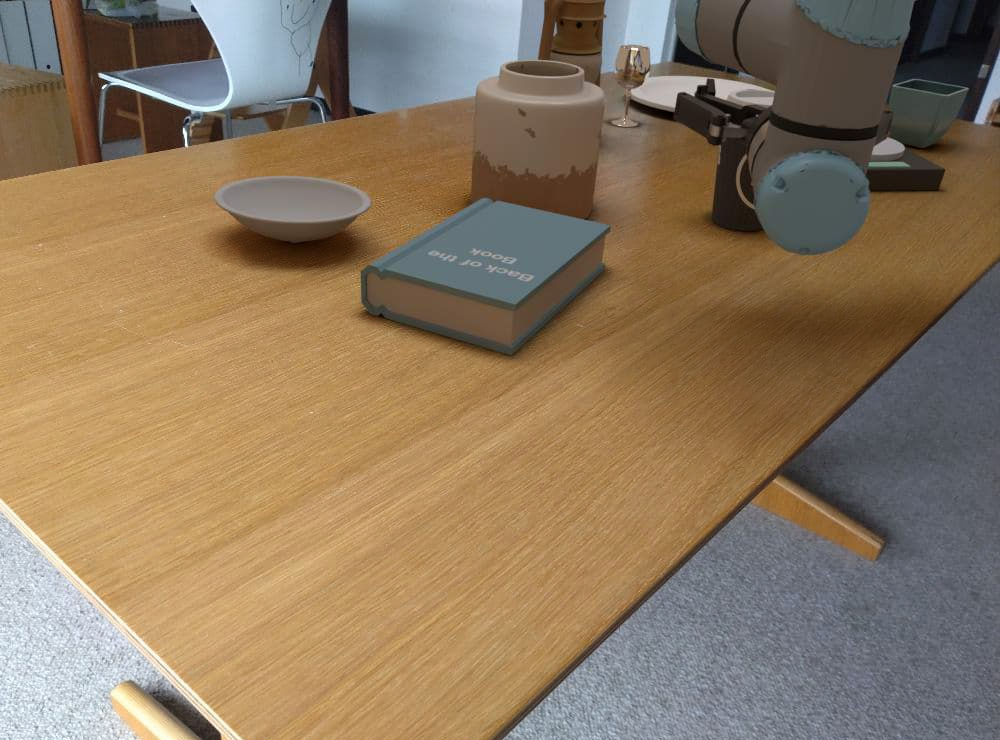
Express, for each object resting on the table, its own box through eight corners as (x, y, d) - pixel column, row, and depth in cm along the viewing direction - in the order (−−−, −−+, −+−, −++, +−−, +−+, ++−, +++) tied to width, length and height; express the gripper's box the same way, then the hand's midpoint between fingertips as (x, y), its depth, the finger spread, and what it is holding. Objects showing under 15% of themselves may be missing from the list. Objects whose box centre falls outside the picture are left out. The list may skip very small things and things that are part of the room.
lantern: (552, 126, 144) (571, -83, 128) (612, 136, 140) (640, -78, 124) (512, 147, 133) (528, -79, 116) (576, 159, 128) (601, -73, 112)
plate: (808, 109, 160) (811, 96, 159) (733, 136, 143) (736, 121, 141) (676, 81, 176) (678, 69, 175) (593, 102, 159) (595, 89, 157)
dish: (190, 249, 95) (184, 205, 93) (261, 208, 107) (258, 167, 104) (335, 278, 90) (333, 232, 88) (393, 231, 102) (393, 189, 99)
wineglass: (614, 128, 144) (624, 51, 138) (602, 119, 149) (611, 44, 142) (647, 127, 145) (658, 50, 139) (634, 118, 150) (644, 44, 144)
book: (511, 355, 78) (515, 304, 75) (361, 311, 84) (360, 262, 81) (604, 269, 95) (610, 225, 92) (474, 237, 101) (476, 195, 98)
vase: (450, 214, 107) (454, 71, 98) (499, 180, 119) (507, 49, 110) (567, 238, 102) (584, 89, 93) (607, 200, 114) (624, 64, 105)
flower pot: (874, 141, 143) (891, 84, 138) (898, 133, 148) (914, 77, 143) (928, 154, 137) (947, 95, 133) (951, 145, 143) (970, 88, 138)
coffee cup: (775, 213, 112) (803, 91, 104) (781, 239, 104) (812, 110, 96) (698, 204, 113) (721, 84, 105) (698, 230, 106) (723, 102, 98)
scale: (938, 190, 122) (948, 161, 120) (831, 191, 120) (839, 162, 118) (871, 152, 137) (879, 126, 135) (775, 152, 135) (781, 126, 133)
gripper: (639, 180, 78) (648, 122, 96) (935, 212, 74) (888, 145, 92) (652, 93, 74) (660, 49, 92) (966, 122, 70) (911, 70, 88)
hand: (774, 97), depth 92 cm, fingers open, 13 cm apart
